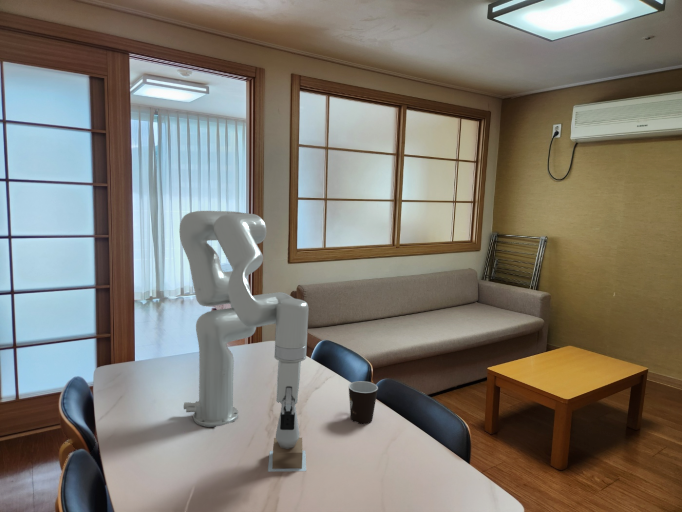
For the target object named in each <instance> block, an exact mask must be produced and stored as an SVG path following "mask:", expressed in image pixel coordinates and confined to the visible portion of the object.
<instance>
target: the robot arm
mask: <svg viewBox="0 0 682 512" xmlns="http://www.w3.org/2000/svg"><path fill="white" fill-rule="evenodd" d="M178 231H179V240H180V243H181V246H182V248H183V251H184V253H185V255H186V258H187V260H188V264H189V269H190V274H191V279H192V285H193V290H194V295H195V298H196V301H197V303H198V304H199V305H200V306H202V307H215V306H222V305H229V304H230V308H222V309H216V310H215V309H214V310H211V311H207V312H204V313H202V314H201V315H200V316H199V317H198V318H197V320H196V322H195V331H196V336H197V337H196V338H197V344H198V353H199V355H198V357H199V358H198V360H199V363H198V365H199V366H198V367H199V369H198V371H199V376H198V377H199V378H198V381H199V384H198V388H199V389H198V391H199V392H198V394H199V395H198V400H197V401H195V402H191V401H190V402H183V410H185V412H186V413H193V417H192V418H193V422H194V423H195V424H197V425H198V426H201V427H206V428H207V427H208V428H215V427H219V426H220V427H221V426H224V425H228V424H231V423H234V422H235V421H236V420H237V419H238V417H239V411H238V409H237V408H236V407H235V406H234V368H235V367H234V364H235V363H234V362H235V361H234V355H233V353H232V351H231V350H230V348H229V347H228V345H227V344H228V343H231V342H233V341H239V340H242V339H247V338H250V337H251V336H253V335H254V334H255V333H256V330H257V328H260V327H264V326H268V325H275V333H274V335H275V336H274V359H275V360H277V363H278V364H277V375H276V403H280V402H282V404H281V407H282V413H281V422H280V429H281V430H294V420H295V413H294V402H295V403H296V402H297V403H298V401H297V398H298V399H299V388H300V383H301V381H300V380H301V379H300V378H301V367H302V365H301V364H302V362H303V361H305V360H306V359H307V348H308V346H307V343H308V328H309V327H308V325H309V311H310V310H309V305H308V304H309V303H308V302H306V301H305V300H303V299H300V298H294V297H293V296H291V295H290V294H288V293H286V292H282V291H278V292H277V291H276V292H272V293H271V292H270V293H262V294H257V295H256V294H255V295H252V290H251V287H250V282H249V281H248V279H247V276H249V275H250V274H252V273H254V272H256V270H258V269H259V268H260V267H261V265H262V264H263V261H264V256H263V253H262V252H261V249H260V248H259V246H258V244H261V243H263V241H264V240H265V239H266V236H267V231H268V229H267V225H266V223H265V221H264V219H262V217H261V216H259V215H257V214H255V213H245V212H240V211H231V210H229V211H228V210H225V211H222V210H220V211H218V210H197V211H191V212H189V213H186V214H185V215H184V216H183V217H182V219H181V220H180V223H179V229H178ZM208 241H218V243H219V245H220V248H221V249H222V251H223V253H224V255H225V257H226V259H227V261H228V263H229V265H230V266H231V269H232V271H231V270H230V271H224V270H223V269H222V266H221V261H220V257H219V255H218V253H217V252H216V250H215V248H213V247H212V245H210V244H209V242H208ZM284 396H285V397H284ZM284 398H286V400H284ZM291 398H293V400H291ZM282 400H283V401H282ZM297 403H296V404H297ZM285 404H286V406H285ZM291 404H292V406H291ZM284 406H285V407H284Z"/></svg>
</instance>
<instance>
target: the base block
mask: <svg viewBox="0 0 682 512" xmlns="http://www.w3.org/2000/svg"><path fill="white" fill-rule="evenodd" d="M272 447H273V448H272V451H273V461H272V469H299V468H302V454H303V451H304V450H303V437H299V439H298V441H297V443H296V444H295V446H294V447H293V448H289V449H285V448H281V447H280V445H279V443H278V441H277V439H276V437H274V438H273V446H272Z"/></svg>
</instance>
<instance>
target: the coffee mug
mask: <svg viewBox="0 0 682 512" xmlns="http://www.w3.org/2000/svg"><path fill="white" fill-rule="evenodd" d="M378 390H379V387H378V385H377V384H375V383H373V382H371V381H363V380H362V381H361V380H359V381H352V382H351V383H349V384H348V398H349V412H350V413H349V414H350V421H351V422H354V423H357V424H358V425H368V424H371V423H372V422H373V418H374V413H375V407H376V401H377V395H378Z"/></svg>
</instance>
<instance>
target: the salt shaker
mask: <svg viewBox="0 0 682 512" xmlns="http://www.w3.org/2000/svg"><path fill="white" fill-rule="evenodd" d="M284 397H285V396H284ZM298 399H299V397H298V398H297V402H296V403H295V402H294V413H295V420H294V430H281V429H280V422H281V413H282V406H281V407H280V413H279V418H278V420H277V428H276V432H275V438H276V439H277V441H278V443H279V445H280V447H281V448H285V449H289V448H293V447H294V446H295V444H296V443H297V441H298V439H299V438H300V427H299V422H298V414H297V407H296V405H297V404H298V401H299V400H298ZM284 400H286V398H284ZM291 400H293V398H291ZM282 401H283V400H282ZM279 403H280V404H281V405H282V402H279ZM285 406H286V404H285ZM285 406H284V407H285ZM291 406H292V404H291Z"/></svg>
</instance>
